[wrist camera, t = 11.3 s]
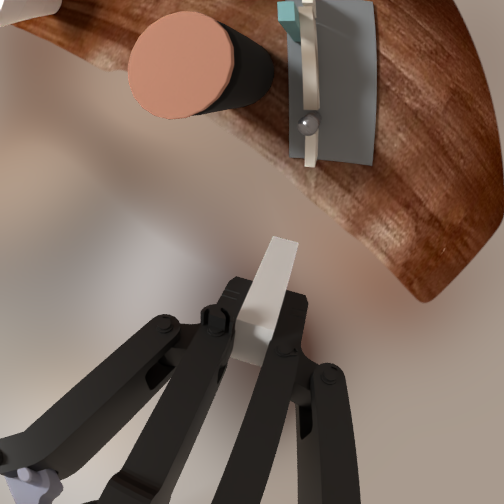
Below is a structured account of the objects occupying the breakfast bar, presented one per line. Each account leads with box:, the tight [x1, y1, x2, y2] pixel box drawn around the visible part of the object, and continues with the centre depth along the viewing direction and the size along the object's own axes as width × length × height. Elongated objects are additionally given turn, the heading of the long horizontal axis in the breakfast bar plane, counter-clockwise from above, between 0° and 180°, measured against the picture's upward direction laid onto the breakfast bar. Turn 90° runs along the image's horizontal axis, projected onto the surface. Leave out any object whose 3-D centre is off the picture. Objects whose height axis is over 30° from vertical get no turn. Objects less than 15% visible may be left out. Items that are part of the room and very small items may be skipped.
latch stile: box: [277, 1, 301, 42], centre depth 23 cm, size 2×2×12 cm
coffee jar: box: [128, 11, 274, 119], centre depth 26 cm, size 11×11×18 cm
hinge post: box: [297, 111, 322, 136], centre depth 29 cm, size 2×2×12 cm
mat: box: [285, 0, 377, 166], centre depth 30 cm, size 25×12×1 cm, turn 2°
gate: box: [298, 6, 320, 110], centre depth 26 cm, size 13×2×7 cm, turn 3°
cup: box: [0, 0, 62, 27], centre depth 20 cm, size 11×11×18 cm
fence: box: [302, 0, 319, 167], centre depth 27 cm, size 24×1×7 cm, turn 2°
